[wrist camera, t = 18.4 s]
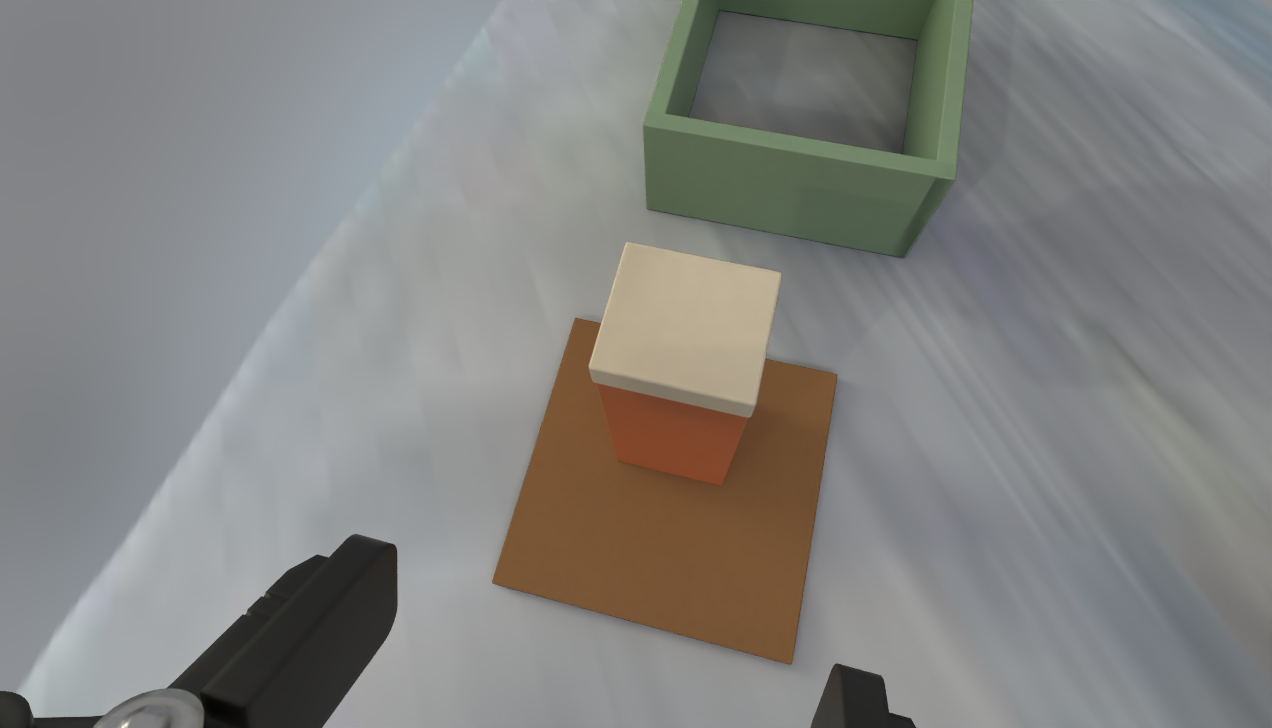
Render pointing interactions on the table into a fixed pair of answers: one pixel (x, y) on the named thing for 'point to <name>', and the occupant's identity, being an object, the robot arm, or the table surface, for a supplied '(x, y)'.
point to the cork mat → (674, 516)
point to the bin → (807, 168)
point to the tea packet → (682, 358)
